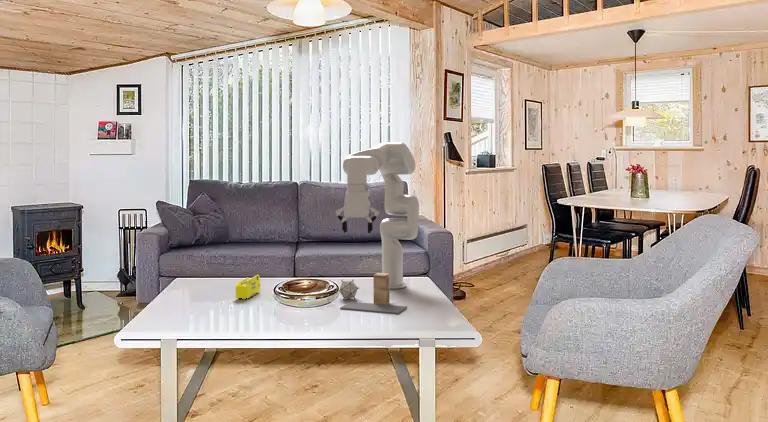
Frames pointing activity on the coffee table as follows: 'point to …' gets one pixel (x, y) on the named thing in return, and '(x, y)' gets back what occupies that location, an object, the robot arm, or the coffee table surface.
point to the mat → (374, 307)
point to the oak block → (381, 288)
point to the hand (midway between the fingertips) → (357, 232)
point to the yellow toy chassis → (248, 287)
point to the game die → (348, 289)
